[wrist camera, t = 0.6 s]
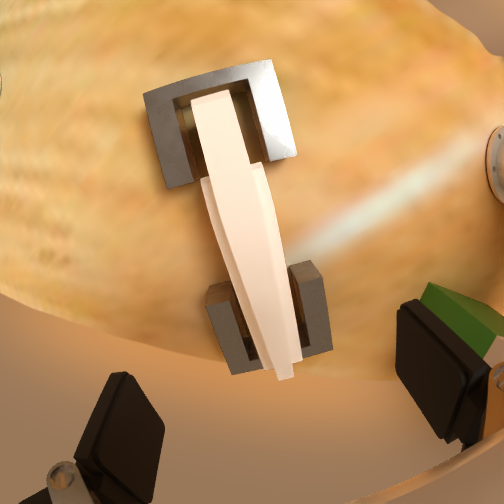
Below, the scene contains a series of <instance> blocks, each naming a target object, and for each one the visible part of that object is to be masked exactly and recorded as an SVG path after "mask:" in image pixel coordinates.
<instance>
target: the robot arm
mask: <svg viewBox="0 0 504 504" xmlns="http://www.w3.org/2000/svg"><path fill="white" fill-rule="evenodd" d="M487 173H488V179H489V183H490V186H491V189H492V191H493V193H494V195H495V197H496V198H497V199H498V200H499V201H500V202H501V203H503V204H504V126H501V127H499V128H497V129H496V130H495V131H494V132H493V134H492V135H491V138H490V140H489V144H488V149H487ZM395 369H396V373H397V375H398V377H399V378H400V380H401V381H402V383H403V384H404V386H405V387H406V389H407V390H408V391H409V393H410V395H411V396H412V398H413V399H414V401H415V402H416V404H417V405H418V407H419V408H420V410H421V411H422V413H423V414H424V416H425V418H426V419H427V421H428V422H429V424H430V425H431V427H432V428H433V430H434V432H435V433H436V435H437V436H438V438H440V439H443V438H444V440H445V441H446V442H447V444H449V443H450V442H452V441H454V440H456V439H457V438H459V440H460V441H461V443H463V444H462V448H461V453H459V454H458V455H456V456H454V457H452V458H450V459H449V460H447V461H445V462H443V463H441V464H439V465H438V466H435V467H433V468H432V469H429V470H427V471H426V472H423V473H421V474H419V475H417V476H415V477H413V478H411V479H409V480H406V481H404V482H402V483H399V484H397V485H395V486H392V487H390V488H387V489H385V490H382V491H379V492H377V493H374V494H371V495H369V496H366V497H363V498H360V499H357V500H354V501H351V502H347V503H344V504H504V361H503V362H500V363H498V364H496V365H495V366H494V367H493V368H491V367H490V366H489V365H488V364H487V363H486V362H485V361H484V360H483V359H482V358H481V357H480V356H479V355H478V354H477V353H476V352H475V351H474V350H473V349H472V348H471V347H470V346H469V345H468V344H467V343H466V342H465V341H464V340H462V339H461V338H460V337H459V336H458V335H457V334H456V333H455V332H454V331H453V330H452V329H451V328H449V327H448V326H447V325H446V324H445V323H444V322H443V321H442V320H441V319H440V318H438V317H437V316H436V315H435V314H434V313H433V312H432V311H431V310H429V309H428V308H427V307H426V306H425V305H424V304H423V303H421V302H420V301H419V300H418V299H413V300H411V301H408V302H405V303H403V304H401V306H400V309H399V310H397V335H396V363H395ZM164 433H165V426H164V423H163V421H162V420H161V418H160V417H159V415H158V414H157V412H156V411H155V409H154V408H153V406H152V405H151V403H150V402H149V400H148V399H147V397H146V396H145V394H144V392H143V391H142V389H141V388H140V386H139V384H138V383H137V381H136V379H135V378H134V376H132V375H130V374H129V373H127V372H116V373H111V375H110V376H109V378H108V380H107V382H106V385H105V387H104V389H103V391H102V393H101V395H100V397H99V399H98V401H97V404H96V406H95V408H94V410H93V412H92V415H91V417H90V419H89V421H88V424H87V426H86V428H85V430H84V433H83V435H82V437H81V440H80V442H79V444H78V447H77V449H76V452H75V454H74V459H75V460H76V464H74V463H72V462H69V461H62V462H59V463H57V464H56V465H54V466H53V467H52V468H51V469H50V471H49V472H48V474H47V480H46V481H47V487H46V488H45V489H43V490H41V491H39V492H37V493H36V494H34V495H32V496H30V497H28V498H27V499H25V500H23V501H21V502H20V503H19V504H148V503H151V502H152V499H153V493H154V487H155V481H156V475H157V470H158V464H159V459H160V454H161V448H162V443H163V438H164Z"/></svg>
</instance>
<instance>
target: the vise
mask: <svg viewBox="0 0 504 504" xmlns="http://www.w3.org/2000/svg"><path fill="white" fill-rule="evenodd" d="M225 90H229V93H230V94H234V93H239V92H243V91H246V93H247V96H248V100H249V104H250V107H251V111H252V115H253V118H254V122H255V126H256V130H257V133H258V137H259V141H260V145H261V149H262V153H263V157H264V160H265V161H274V160H278V159H283V158H287V157H292V156H297V152H296V148H295V144H294V140H293V136H292V132H291V128H290V124H289V120H288V117H287V113H286V109H285V106H284V102H283V98H282V95H281V91H280V88H279V84H278V81H277V77H276V74H275V71H274V67H273V64H272V61H271V59H268V60H263V61H257V62H252V63H247V64H242V65H238V66H233V67H229V68H225V69H221V70H217V71H213V72H209V73H205V74H202V75H198V76H194V77H191V78H188V79H184V80H181V81H178V82H175V83H172V84H169V85H166V86H163V87H160V88H157V89H154V90H151V91H149V92H146V93H143V97H144V102H145V106H146V110H147V114H148V118H149V122H150V127H151V130H152V134H153V138H154V142H155V146H156V150H157V154H158V157H159V161H160V165H161V168H162V172H163V175H164V179H165V183H166V186H167V189H171V188H174V187H178V186H181V185H184V184H187V183H191V182H194V181H196V180H198V179H200V176H199V172H198V169H197V165H196V162H195V158H194V154H193V150H192V147H191V143H190V139H189V135H188V132H187V128H186V124H185V120H184V116H183V112H182V108H183V107H187V106H190V105H191V100H193V99H196V98H200V97H203V96H206V95H210V94H213V93H217V92H221V91H225ZM290 270H291V275H292V279H293V284H294V289H295V293H296V298H297V303H298V308H299V312H300V317H301V322H302V323H301V324H297V329H298V335H299V341H300V346H301V352H302V358H306V357H310V356H313V355H317V354H320V353H324V352H327V351H330V350H333V345H332V337H331V330H330V323H329V316H328V309H327V303H326V296H325V290H324V284H323V278H322V276H321V274H320V273H319V271H318V270H317V269H316V267H315V266H314V264H313V263H312V262H311V260H309V261H306V262H302V263H298V264H294V265H290ZM206 309H207V312H208V315H209V317H210V320H211V323H212V325H213V328H214V331H215V333H216V336H217V339H218V341H219V344H220V346H221V349H222V352H223V354H224V357H225V359H226V362H227V364H228V367H229V369H230V372H231V374H232V375H235V374H239V373H245V372H249V371H254V370H258V369H263V365H262V363H261V360H260V358H259V355H258V352H257V350H256V347H255V344H254V342H253V339H252V336H250V337H247V333H246V330H245V327H244V324H243V321H242V318H241V315H240V311H239V308H238V305H237V302H236V299H235V295H234V292H233V289H232V286H231V282H230V281H228V282H224V283H220V284H216V285H212V286H209V290H208V296H207V301H206Z"/></svg>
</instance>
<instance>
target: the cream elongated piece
mask: <svg viewBox="0 0 504 504" xmlns="http://www.w3.org/2000/svg"><path fill="white" fill-rule="evenodd" d="M191 106H192V111H193V115H194V119H195V122H196V126H197V130H198V134H199V138H200V142H201V146H202V150H203V154H204V158H205V161H206V165H207V169H208V173H209V176H207V177H203V178H200V179H201V186H202V190H203V194H204V197H205V201H206V205H207V209H208V212H209V216H210V220H211V223H212V226H213V229H214V232H215V235H216V238H217V241H218V244H219V247H220V250H221V253H222V255H223V258H224V261H225V264H226V267H227V270H228V273H229V275H230V278H231V281H232V284H233V287H234V289H235V292H236V295H237V298H238V301H239V303H240V306H241V309H242V312H243V314H244V317H245V320H246V323H247V325H248V328H249V331H250V333H251V336H252V339H253V342H254V344H255V347H256V350H257V352H258V355H259V358H260V360H261V363H262V365H263V368H264V370H265V371H266V370H270V369H274V370H275V372H276V375H277V377H278V380H279V381H281V380H285V379H288V378H292V377H294V372H293V366H292V364H293V363H297V362H300V361H303V358H302V352H301V346H300V341H299V335H298V329H297V323H296V318H295V312H294V306H293V301H292V295H291V290H290V285H289V279H288V274H287V269H286V264H285V258H284V253H283V248H282V243H281V238H280V233H279V228H278V223H277V218H276V213H275V209H274V204H273V201H272V197H271V193H270V190H269V186H268V182H267V179H266V175H265V172H264V168H263V165H262V163H261V162H258V163H254V164H250V162H249V158H248V154H247V151H246V147H245V144H244V140H243V137H242V133H241V130H240V126H239V123H238V120H237V116H236V113H235V109H234V106H233V103H232V99H231V96H230V93H229V90H225V91H221V92H217V93H213V94H210V95H206V96H203V97H200V98H196V99H193V100H191Z"/></svg>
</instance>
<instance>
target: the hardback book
mask: <svg viewBox="0 0 504 504" xmlns="http://www.w3.org/2000/svg"><path fill="white" fill-rule="evenodd" d="M420 302H421V303H423V304H424V305H425V306H426V307H427V308H428V309H429V310H431V311H432V312H433V313H434V314H435V315H436V316H437V317H438V318H440V319H441V320H442V321H443V322H444V323H445V324H446V325H447V326H448V327H449V328H451V329H452V330H453V331H454V332H455V333H456V334H457V335H458V336H459V337H460V338H461V339H462V340H464V341H465V342H466V343H467V344H468V345H469V346H470V347H471V348H472V349H473V350H474V351H475V352H476V353H477V354H478V355H479V356H480V357H481V358H482V359H483V360H484V361H485V362H486V363H487V364H488V365H489V366H490V367H491V368H493V367H494V366H495V365H496V364H498V363H500V362H503V361H504V317H503V316H502V315H501V314H499V313H498V312H497V311H495V310H494V309H493V308H491V307H490V306H488V305H486V304H484V303H481V302H479V301H476V300H474V299H471V298H469V297H466V296H464V295H461V294H458V293H456V292H453V291H451V290H448V289H446V288H443V287H440V286H438V285H435V284H432V283H430V282H429V283H428V285H427V287H426V289H425V291H424V293H423V295H422V297H421V299H420Z"/></svg>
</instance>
